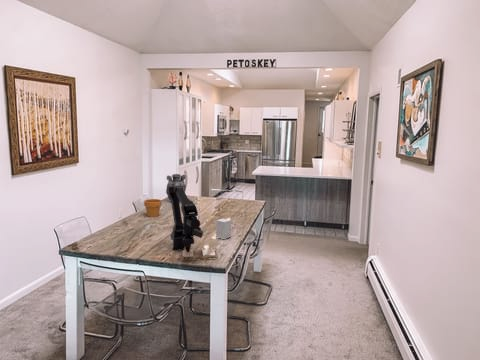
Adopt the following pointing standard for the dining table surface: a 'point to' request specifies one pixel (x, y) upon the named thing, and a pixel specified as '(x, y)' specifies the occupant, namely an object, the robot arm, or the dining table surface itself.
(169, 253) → the dining table surface
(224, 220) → the supplement box
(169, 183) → the decorative vase
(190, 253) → the stub
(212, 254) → the ticket board
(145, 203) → the flower pot
